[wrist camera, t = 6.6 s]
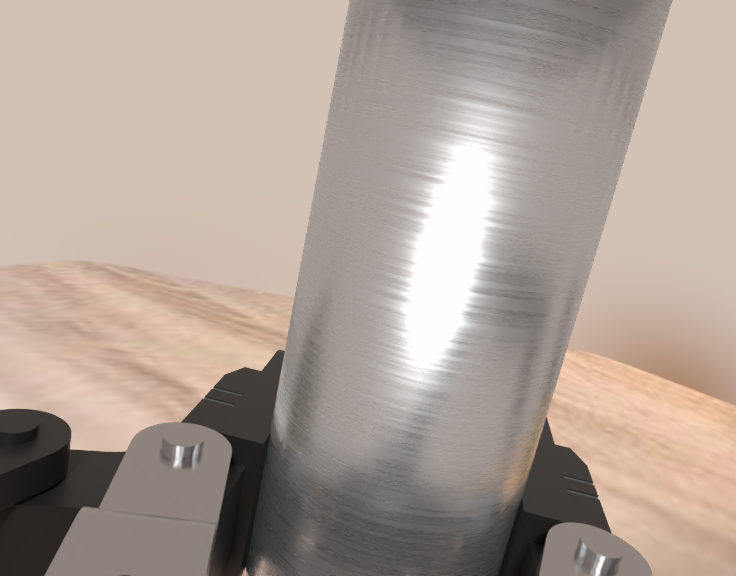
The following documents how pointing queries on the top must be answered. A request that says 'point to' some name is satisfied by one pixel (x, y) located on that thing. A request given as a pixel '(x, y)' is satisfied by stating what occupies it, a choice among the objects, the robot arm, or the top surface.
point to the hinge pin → (443, 276)
